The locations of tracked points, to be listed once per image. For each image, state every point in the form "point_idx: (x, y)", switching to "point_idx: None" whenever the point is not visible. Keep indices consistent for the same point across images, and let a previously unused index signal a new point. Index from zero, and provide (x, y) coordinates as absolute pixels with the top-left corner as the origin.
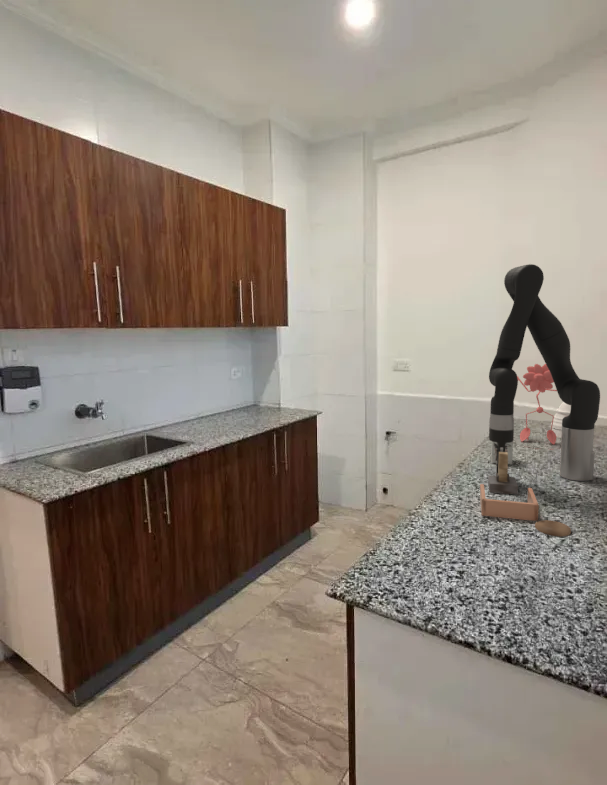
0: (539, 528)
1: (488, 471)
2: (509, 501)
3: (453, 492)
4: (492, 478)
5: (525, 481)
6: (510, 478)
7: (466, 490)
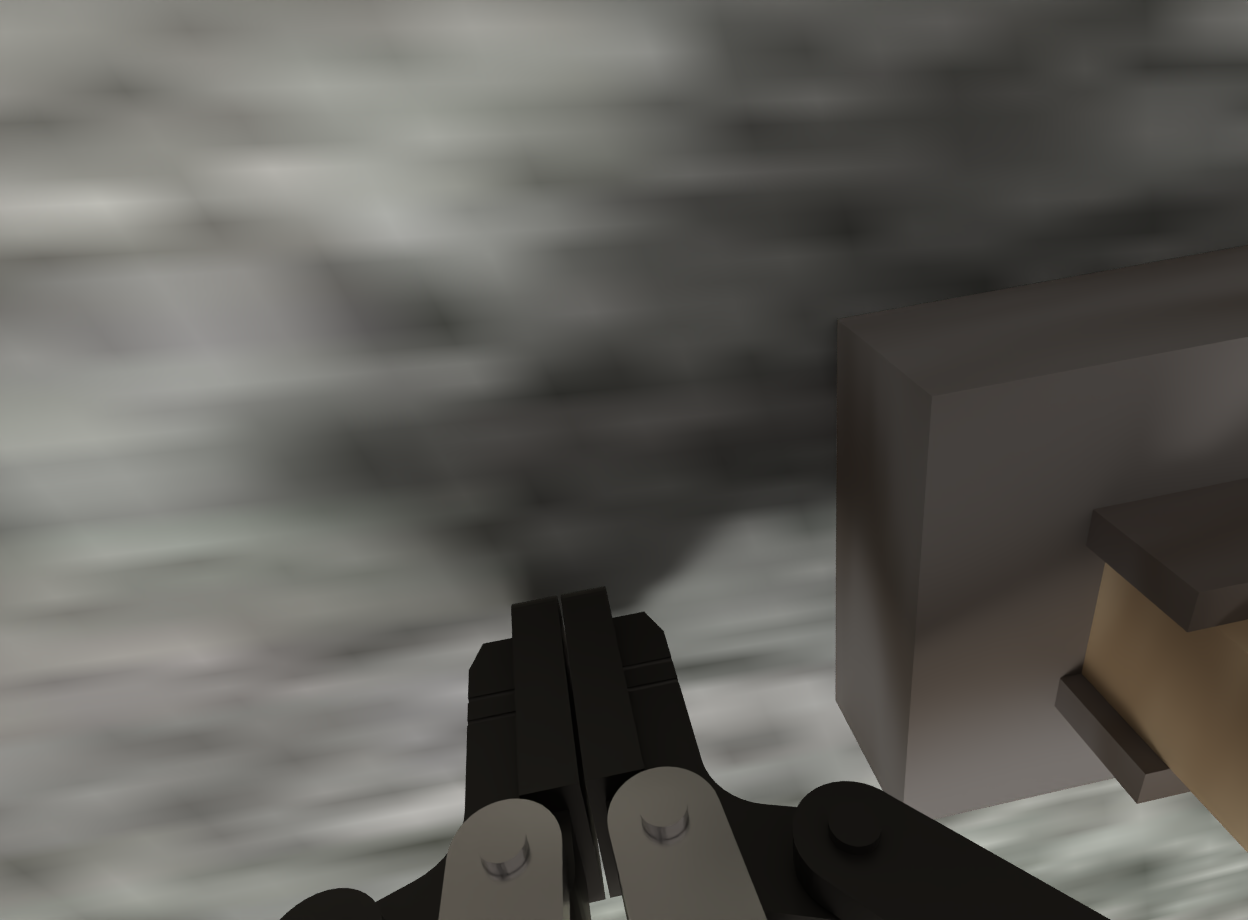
0: None
1: (136, 822)
2: None
3: (1213, 895)
4: (1068, 746)
5: (426, 101)
6: (1034, 479)
7: (1146, 828)
